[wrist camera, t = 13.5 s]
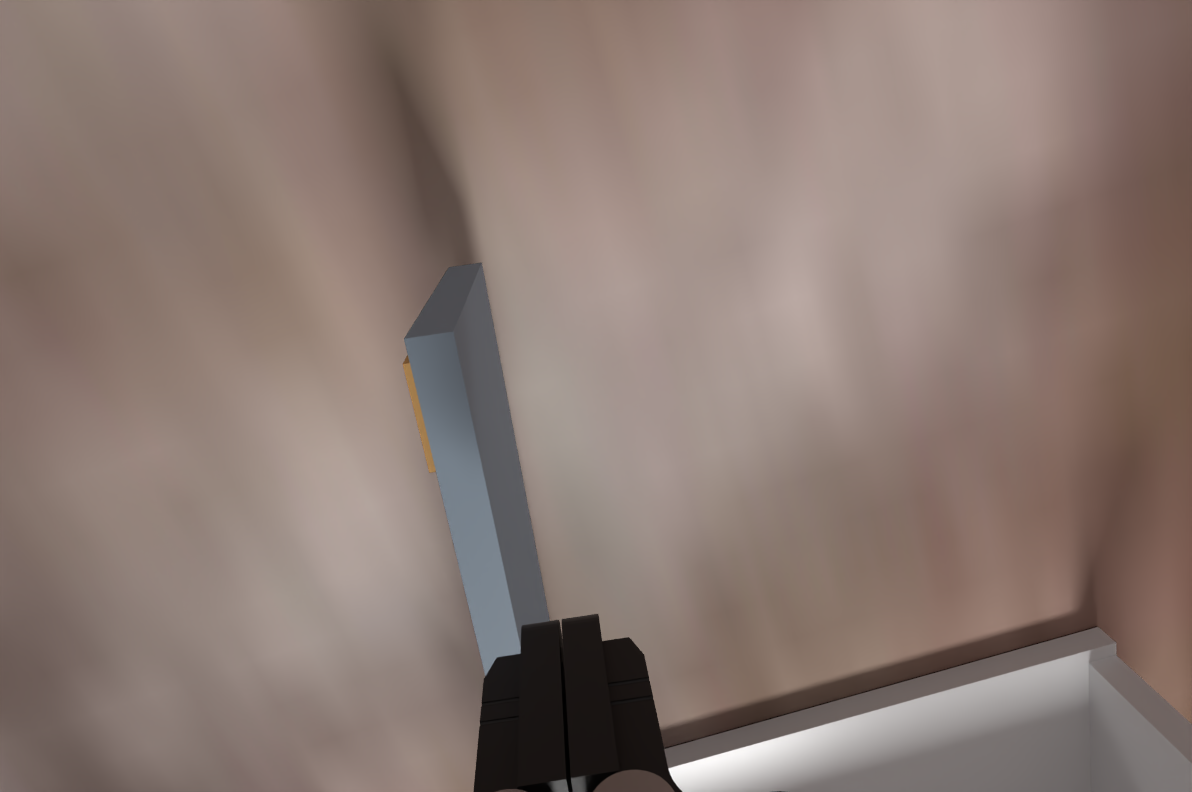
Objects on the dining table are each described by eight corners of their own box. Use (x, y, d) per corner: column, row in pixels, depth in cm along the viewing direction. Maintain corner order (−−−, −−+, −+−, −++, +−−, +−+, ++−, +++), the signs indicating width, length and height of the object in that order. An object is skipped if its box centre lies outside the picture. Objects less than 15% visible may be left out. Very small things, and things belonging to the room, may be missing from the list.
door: (481, 262, 21) (453, 331, 14) (582, 794, 29) (596, 1005, 22) (422, 271, 21) (364, 344, 14) (540, 801, 29) (541, 1015, 22)
